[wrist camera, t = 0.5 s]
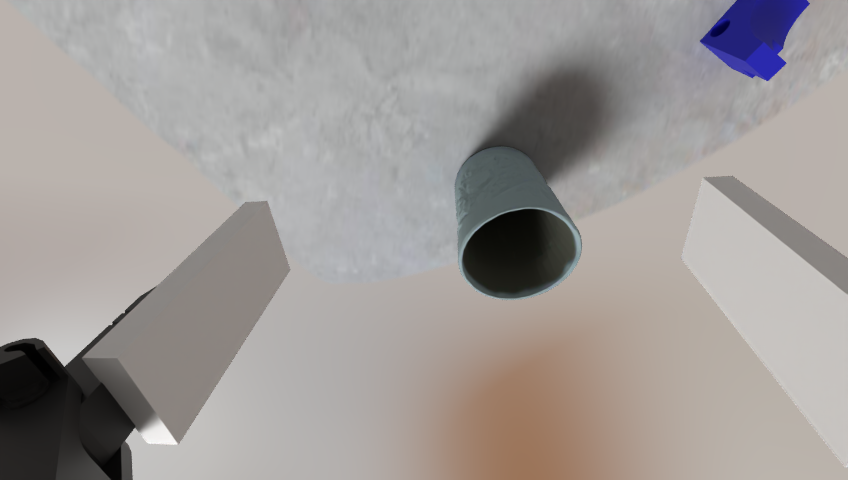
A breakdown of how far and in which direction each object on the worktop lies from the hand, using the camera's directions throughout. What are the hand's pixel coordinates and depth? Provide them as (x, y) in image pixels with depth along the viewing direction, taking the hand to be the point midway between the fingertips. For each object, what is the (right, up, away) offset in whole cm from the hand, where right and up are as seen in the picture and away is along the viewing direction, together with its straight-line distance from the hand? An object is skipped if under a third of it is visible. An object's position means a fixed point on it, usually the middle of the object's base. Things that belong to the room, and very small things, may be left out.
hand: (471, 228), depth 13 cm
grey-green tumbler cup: (+6, +6, +30) cm, 31 cm away
